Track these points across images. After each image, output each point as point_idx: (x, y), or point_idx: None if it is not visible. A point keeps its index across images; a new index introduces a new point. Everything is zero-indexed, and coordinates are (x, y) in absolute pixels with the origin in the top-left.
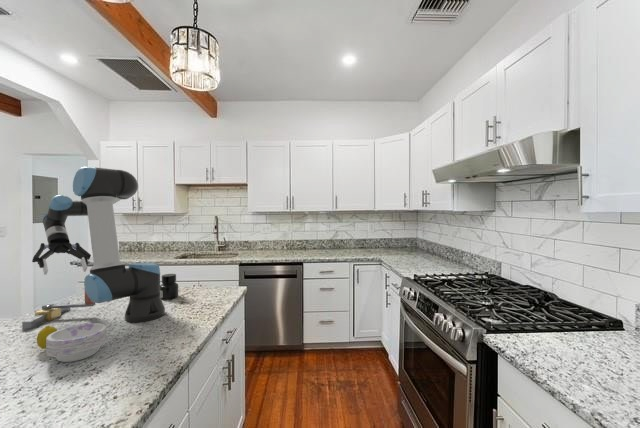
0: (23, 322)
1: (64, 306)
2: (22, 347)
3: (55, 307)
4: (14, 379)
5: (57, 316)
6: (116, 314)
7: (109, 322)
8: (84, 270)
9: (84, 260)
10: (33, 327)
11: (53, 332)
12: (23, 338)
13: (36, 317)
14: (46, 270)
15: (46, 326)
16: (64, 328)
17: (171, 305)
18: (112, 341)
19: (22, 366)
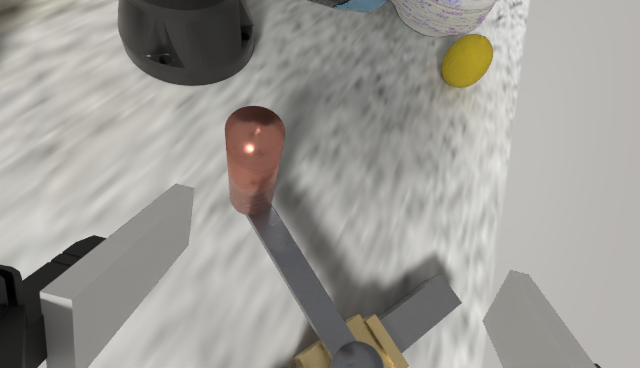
0: (457, 299)
1: (319, 283)
2: (479, 148)
3: (341, 321)
4: (514, 34)
5: (315, 342)
6: (205, 136)
7: (276, 95)
8: (186, 230)
9: (111, 244)
10: (419, 286)
11: (484, 3)
12: (463, 211)
13: (413, 312)
14: (519, 277)
15: (486, 39)
16: (461, 2)
17: (52, 28)
18: None
19: (498, 62)
